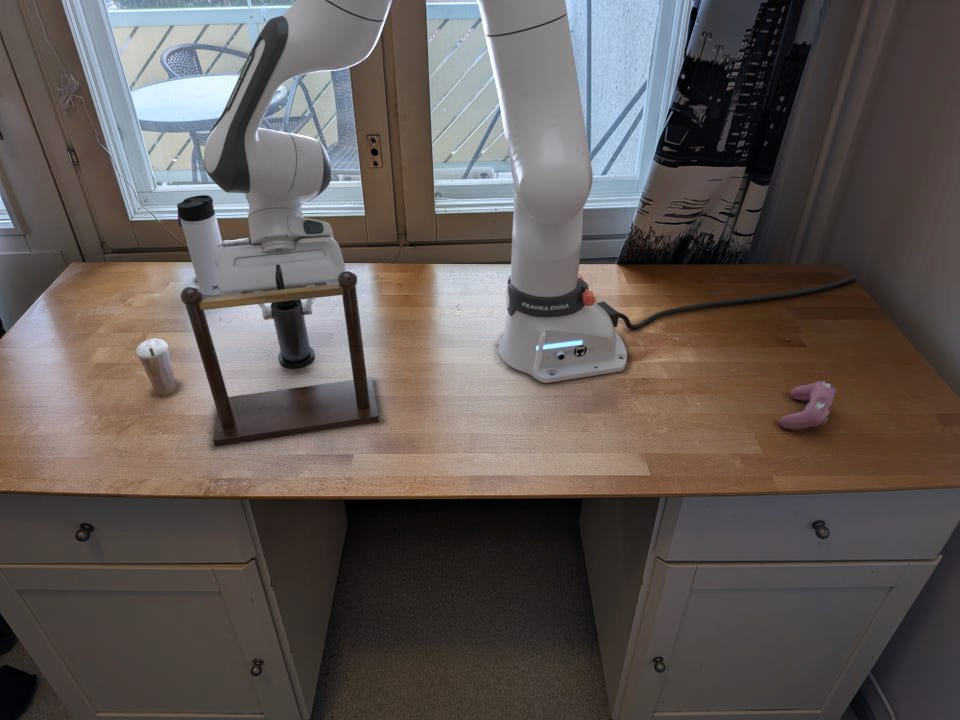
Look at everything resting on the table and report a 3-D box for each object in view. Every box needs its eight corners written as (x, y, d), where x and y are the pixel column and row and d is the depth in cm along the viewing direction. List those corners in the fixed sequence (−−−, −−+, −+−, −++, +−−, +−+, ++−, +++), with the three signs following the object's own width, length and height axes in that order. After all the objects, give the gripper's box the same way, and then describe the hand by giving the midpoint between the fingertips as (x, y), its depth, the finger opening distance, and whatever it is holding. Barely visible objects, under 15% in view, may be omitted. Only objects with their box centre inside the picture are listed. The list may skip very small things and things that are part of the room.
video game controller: (800, 444, 98) (836, 420, 93) (775, 424, 99) (810, 399, 94) (811, 409, 105) (845, 385, 100) (788, 390, 106) (821, 365, 101)
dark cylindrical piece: (279, 351, 112) (258, 255, 102) (314, 347, 113) (297, 251, 103) (278, 380, 106) (256, 280, 95) (316, 374, 107) (298, 276, 96)
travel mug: (225, 302, 128) (201, 206, 116) (195, 298, 129) (168, 202, 118) (241, 287, 133) (219, 193, 121) (211, 283, 134) (187, 190, 123)
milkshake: (153, 404, 102) (133, 352, 97) (149, 385, 106) (131, 334, 100) (183, 395, 104) (166, 344, 98) (179, 378, 108) (162, 327, 102)
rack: (220, 404, 103) (179, 264, 88) (372, 383, 107) (357, 247, 93) (214, 446, 95) (169, 300, 80) (379, 421, 99) (363, 280, 85)
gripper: (207, 234, 102) (216, 319, 100) (339, 222, 106) (350, 304, 104) (216, 248, 108) (225, 328, 106) (340, 236, 112) (351, 313, 110)
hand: (288, 316), depth 105 cm, fingers closed on dark cylindrical piece, 5 cm apart
